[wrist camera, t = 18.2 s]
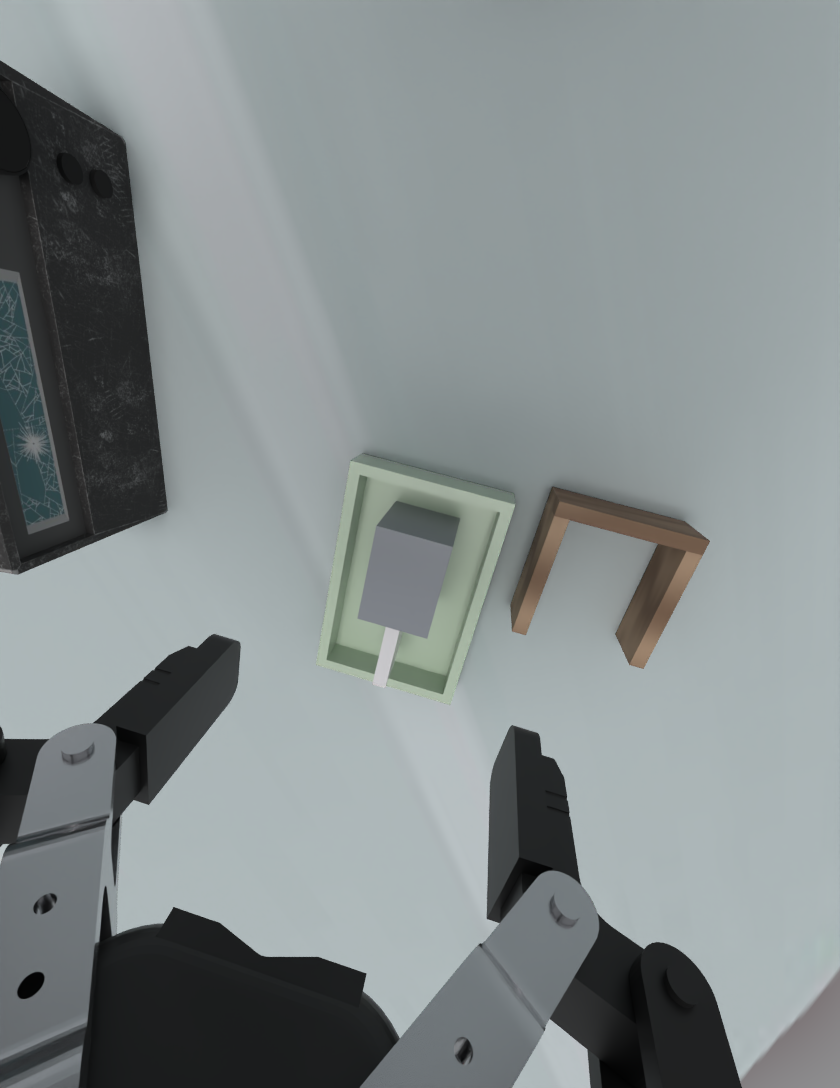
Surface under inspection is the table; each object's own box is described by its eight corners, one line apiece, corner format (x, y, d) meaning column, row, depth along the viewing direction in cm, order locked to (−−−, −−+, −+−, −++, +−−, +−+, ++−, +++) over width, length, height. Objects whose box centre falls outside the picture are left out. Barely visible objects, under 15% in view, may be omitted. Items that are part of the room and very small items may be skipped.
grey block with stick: (396, 500, 34) (376, 525, 28) (460, 518, 33) (452, 547, 28) (366, 636, 38) (344, 680, 33) (422, 653, 38) (409, 700, 33)
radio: (181, 513, 38) (-119, 646, 19) (135, 506, 38) (-201, 629, 20) (142, 140, 29) (-504, -286, 10) (82, 137, 29) (-640, -275, 11)
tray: (362, 453, 33) (350, 460, 31) (513, 493, 33) (515, 504, 30) (328, 644, 40) (315, 664, 37) (453, 681, 39) (450, 704, 37)
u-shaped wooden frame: (552, 486, 32) (559, 501, 28) (684, 521, 31) (709, 541, 28) (510, 604, 36) (512, 631, 32) (628, 637, 35) (643, 668, 32)
